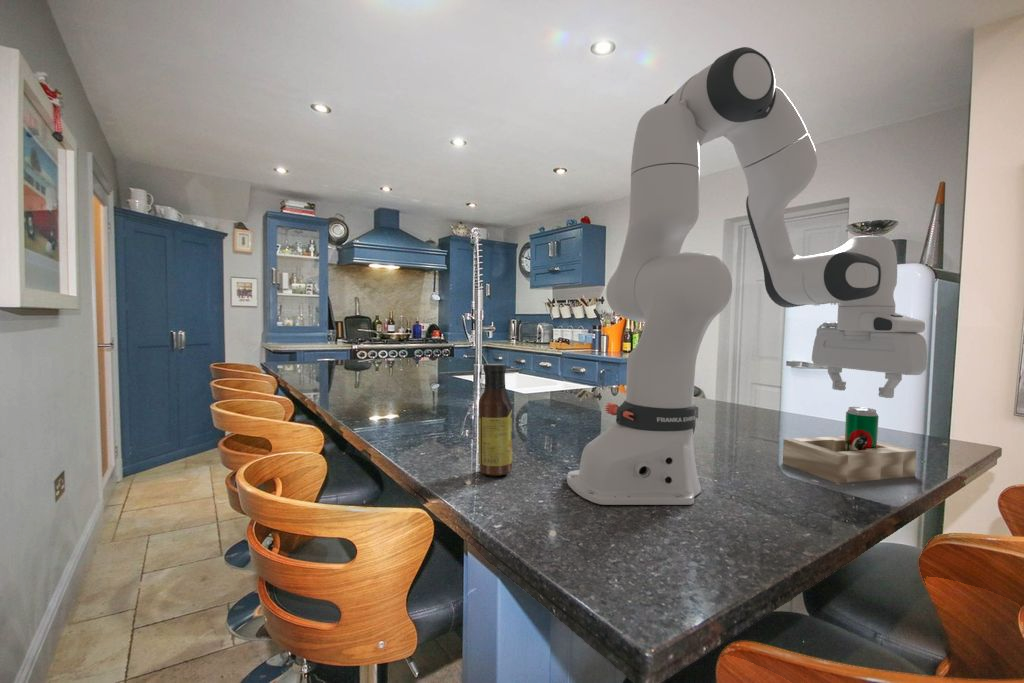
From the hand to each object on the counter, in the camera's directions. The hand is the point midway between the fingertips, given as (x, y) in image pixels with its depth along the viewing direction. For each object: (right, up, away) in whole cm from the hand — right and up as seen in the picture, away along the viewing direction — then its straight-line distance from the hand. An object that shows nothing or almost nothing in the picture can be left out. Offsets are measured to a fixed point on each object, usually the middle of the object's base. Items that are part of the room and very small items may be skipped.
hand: (861, 393), depth 90 cm
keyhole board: (-3, -15, 0) cm, 15 cm away
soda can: (0, -15, 0) cm, 15 cm away
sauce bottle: (-71, -14, -4) cm, 72 cm away
